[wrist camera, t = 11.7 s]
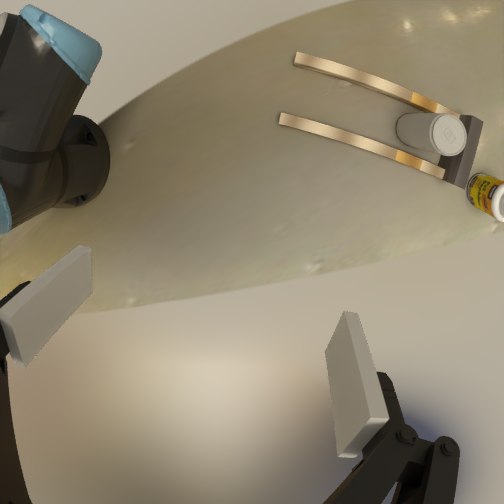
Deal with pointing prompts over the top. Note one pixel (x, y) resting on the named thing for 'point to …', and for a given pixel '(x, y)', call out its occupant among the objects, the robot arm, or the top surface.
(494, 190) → the supplement bottle
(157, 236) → the top surface
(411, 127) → the beverage can
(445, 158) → the guide channel
